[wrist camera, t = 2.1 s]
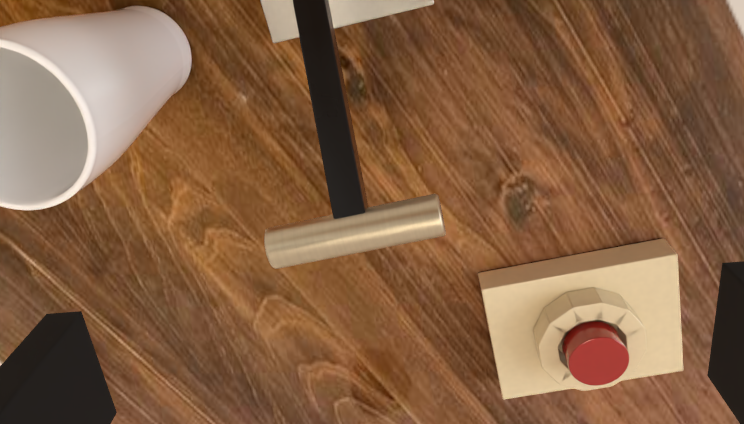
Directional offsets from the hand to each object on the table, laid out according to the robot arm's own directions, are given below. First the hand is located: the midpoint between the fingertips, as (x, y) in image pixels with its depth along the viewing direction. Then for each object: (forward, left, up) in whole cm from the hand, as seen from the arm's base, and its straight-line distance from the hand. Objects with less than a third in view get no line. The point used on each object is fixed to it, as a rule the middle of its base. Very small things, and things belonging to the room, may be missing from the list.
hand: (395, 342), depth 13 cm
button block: (-8, +19, -26) cm, 33 cm away
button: (-8, +19, -22) cm, 30 cm away
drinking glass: (+14, -4, -26) cm, 30 cm away
